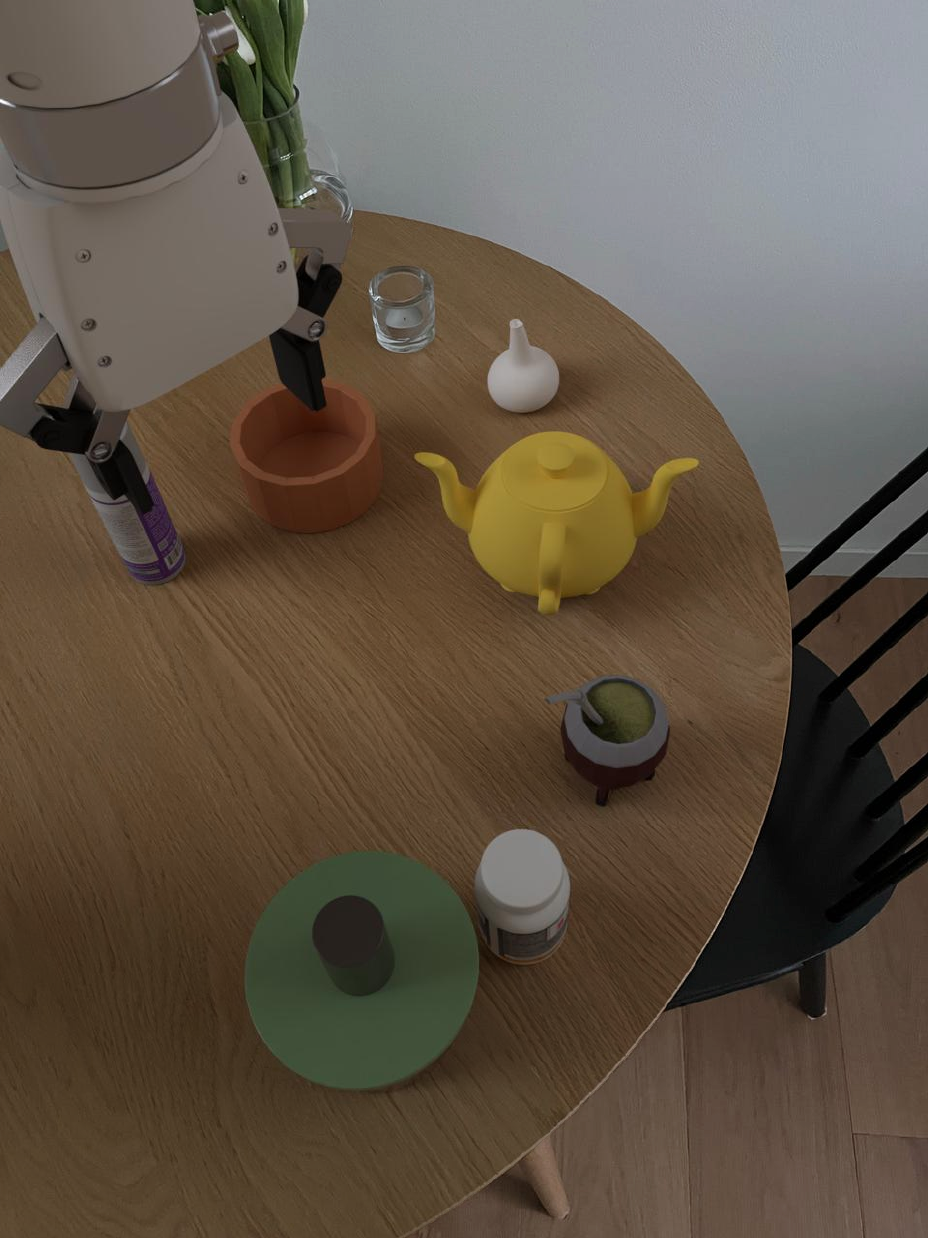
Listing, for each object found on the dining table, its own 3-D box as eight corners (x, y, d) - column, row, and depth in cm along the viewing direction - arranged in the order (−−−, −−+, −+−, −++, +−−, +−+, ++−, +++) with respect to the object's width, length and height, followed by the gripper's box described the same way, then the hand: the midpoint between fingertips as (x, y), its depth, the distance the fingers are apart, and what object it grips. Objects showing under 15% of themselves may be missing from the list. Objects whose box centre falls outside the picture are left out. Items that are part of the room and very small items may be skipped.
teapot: (416, 636, 80) (402, 544, 71) (432, 486, 88) (422, 385, 79) (683, 645, 79) (706, 552, 69) (675, 492, 87) (694, 390, 77)
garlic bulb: (567, 411, 93) (571, 340, 86) (497, 425, 92) (496, 355, 85) (547, 362, 96) (549, 291, 89) (480, 375, 96) (477, 304, 89)
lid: (208, 1042, 56) (173, 1010, 50) (308, 829, 62) (287, 781, 57) (429, 1131, 53) (419, 1108, 48) (510, 899, 60) (510, 855, 54)
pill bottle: (582, 906, 68) (591, 848, 60) (540, 985, 66) (543, 936, 57) (505, 864, 70) (503, 802, 62) (461, 939, 67) (453, 885, 59)
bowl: (222, 513, 88) (204, 464, 83) (283, 416, 94) (269, 365, 89) (350, 548, 85) (339, 500, 80) (404, 446, 91) (397, 395, 86)
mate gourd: (667, 733, 75) (697, 615, 62) (648, 835, 71) (675, 730, 58) (564, 710, 76) (573, 590, 64) (539, 809, 72) (543, 701, 60)
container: (167, 529, 87) (108, 396, 75) (197, 563, 85) (142, 432, 73) (117, 559, 86) (49, 429, 73) (146, 595, 84) (81, 467, 71)
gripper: (254, -26, 41) (322, 321, 55) (-177, 155, 35) (22, 491, 50) (370, 48, 38) (411, 398, 52) (-86, 262, 32) (100, 589, 46)
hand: (221, 443), depth 51 cm, fingers open, 9 cm apart
